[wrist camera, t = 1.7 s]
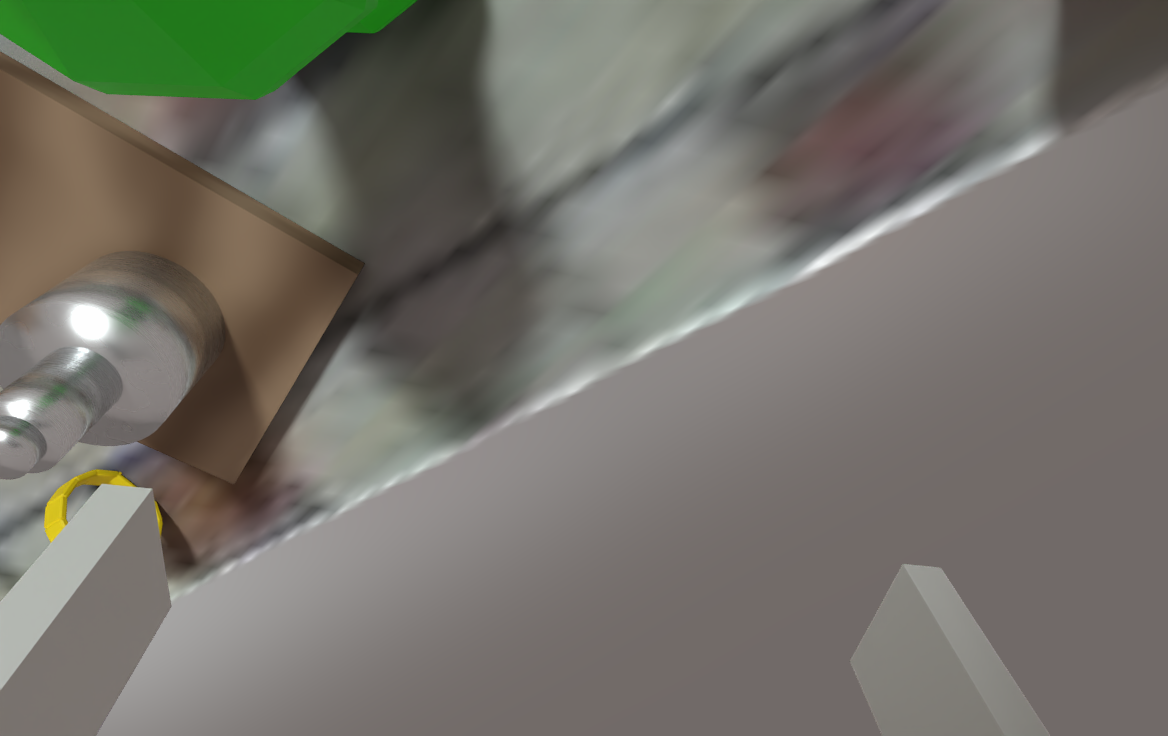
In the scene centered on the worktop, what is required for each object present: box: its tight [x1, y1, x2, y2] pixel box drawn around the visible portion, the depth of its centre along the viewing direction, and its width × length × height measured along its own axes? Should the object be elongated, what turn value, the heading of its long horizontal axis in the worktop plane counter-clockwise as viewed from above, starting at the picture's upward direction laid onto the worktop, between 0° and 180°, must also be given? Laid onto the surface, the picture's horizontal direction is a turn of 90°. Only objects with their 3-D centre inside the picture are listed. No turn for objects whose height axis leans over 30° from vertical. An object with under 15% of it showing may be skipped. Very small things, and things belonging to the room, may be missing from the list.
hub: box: [0, 251, 226, 479], centre depth 31 cm, size 7×7×12 cm
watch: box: [44, 469, 163, 542], centre depth 40 cm, size 6×3×6 cm, turn 33°
